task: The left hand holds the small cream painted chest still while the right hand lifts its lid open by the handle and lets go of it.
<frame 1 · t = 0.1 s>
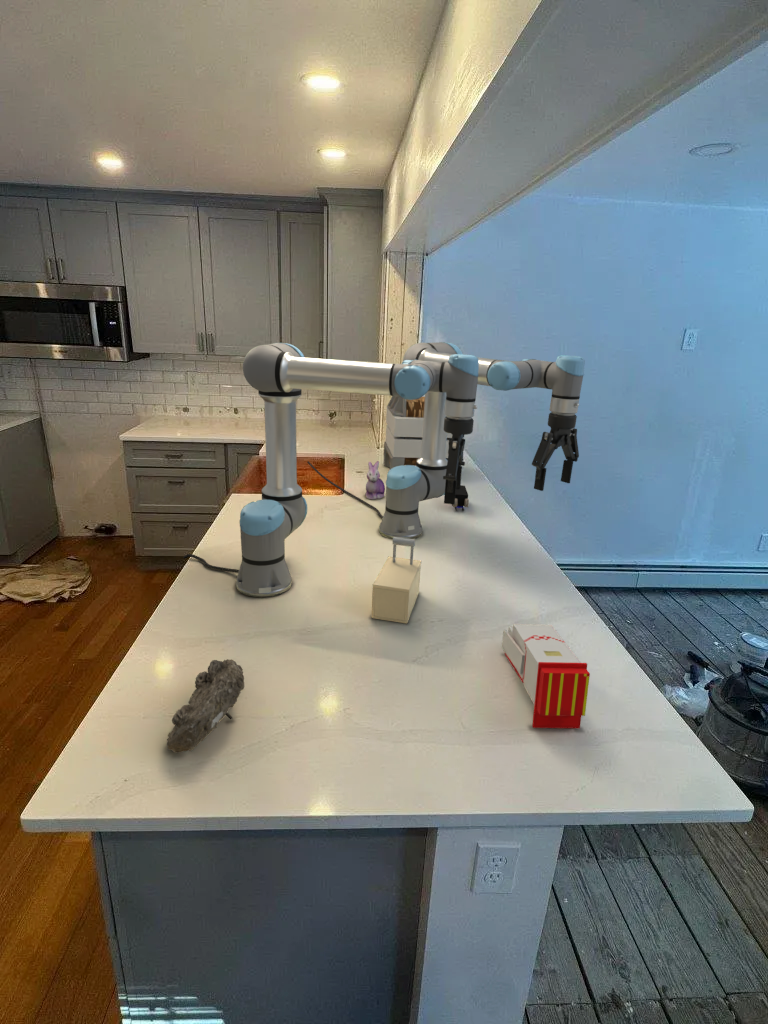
left hand: (452, 495, 153), 28 cm above the counter, tool pointing down, fingers open, 13 cm apart
right hand: (552, 485, 166), 28 cm above the counter, tool pointing down, fingers open, 13 cm apart
toy: (535, 684, 122), on the counter
chest: (396, 604, 152), on the counter
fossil: (212, 717, 108), on the counter
figurine character: (458, 507, 230), on the counter
lid: (398, 560, 148), point 13 cm above the counter, hinge at 0.0°
figurine: (374, 496, 238), on the counter
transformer: (419, 473, 275), on the counter
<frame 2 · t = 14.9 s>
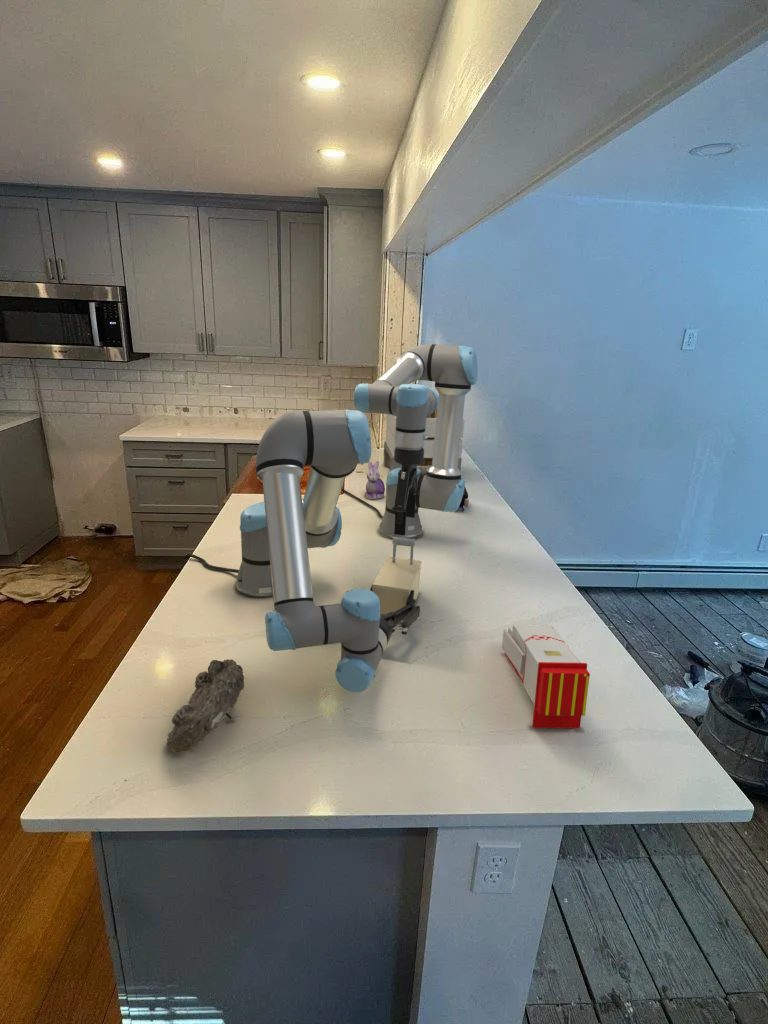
left hand: (392, 592, 145), 7 cm above the counter, tool horizontal, fingers closed on chest, 9 cm apart
right hand: (404, 525, 151), 21 cm above the counter, tool pointing down, fingers open, 13 cm apart
chest: (396, 604, 152), on the counter, touching left hand
everything else where it was.
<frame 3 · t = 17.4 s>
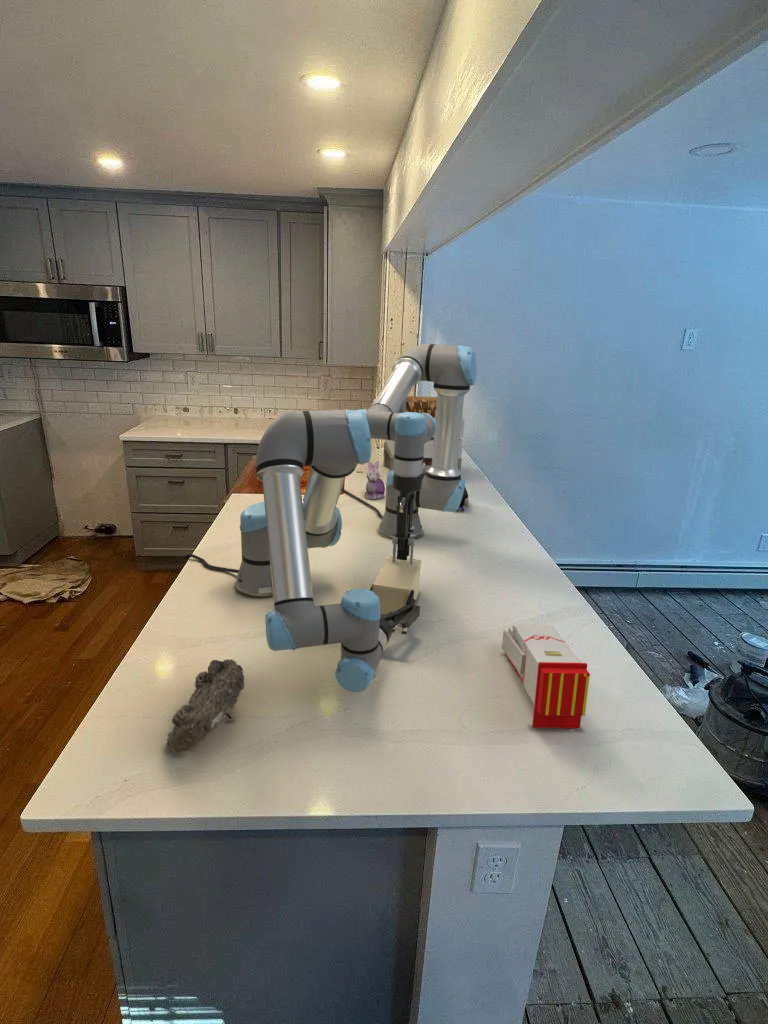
left hand: (392, 592, 145), 7 cm above the counter, tool horizontal, fingers closed on chest, 9 cm apart
right hand: (402, 557, 154), 11 cm above the counter, tool pointing down, fingers closed on lid, 2 cm apart
chest: (396, 604, 152), on the counter, touching left hand
lid: (398, 560, 148), point 13 cm above the counter, hinge at 0.7°, touching right hand
everything else where it was.
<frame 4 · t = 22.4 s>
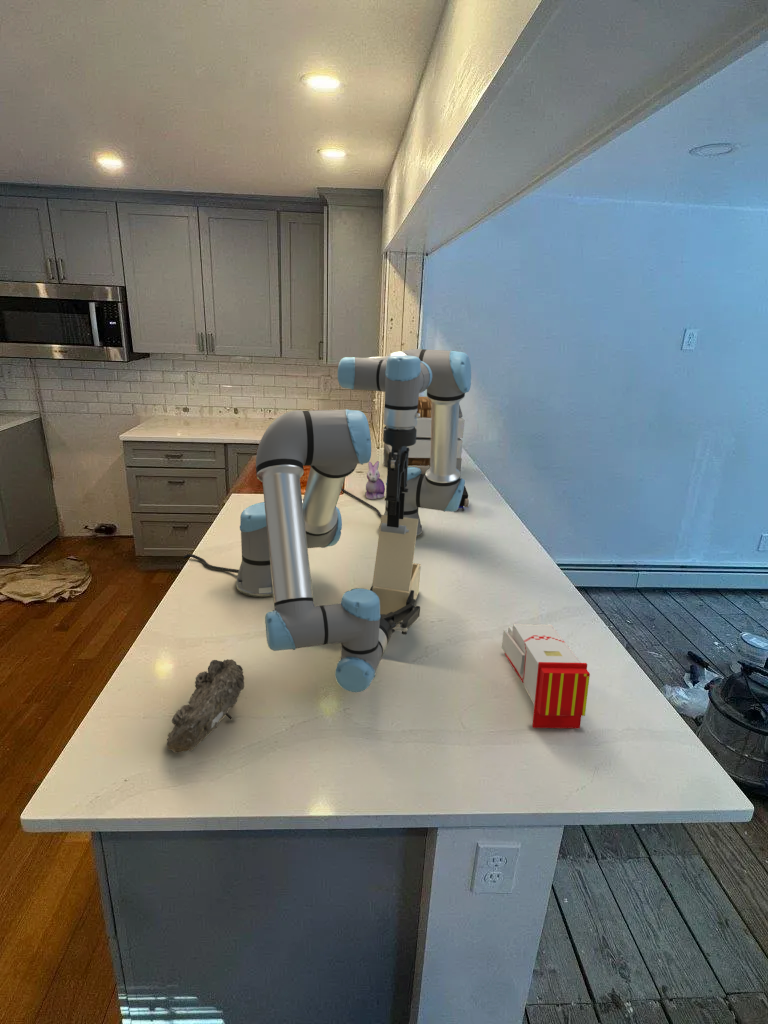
left hand: (392, 592, 145), 7 cm above the counter, tool horizontal, fingers closed on chest, 9 cm apart
right hand: (395, 522, 136), 27 cm above the counter, tool pointing down, fingers open, 5 cm apart
chest: (396, 604, 152), on the counter, touching left hand
lid: (392, 552, 138), point 19 cm above the counter, hinge at 66.4°
everything else where it was.
when the left hand's fingers open (7 cm above the counter, at t = 25.1 s): chest stays where it is, on the counter.
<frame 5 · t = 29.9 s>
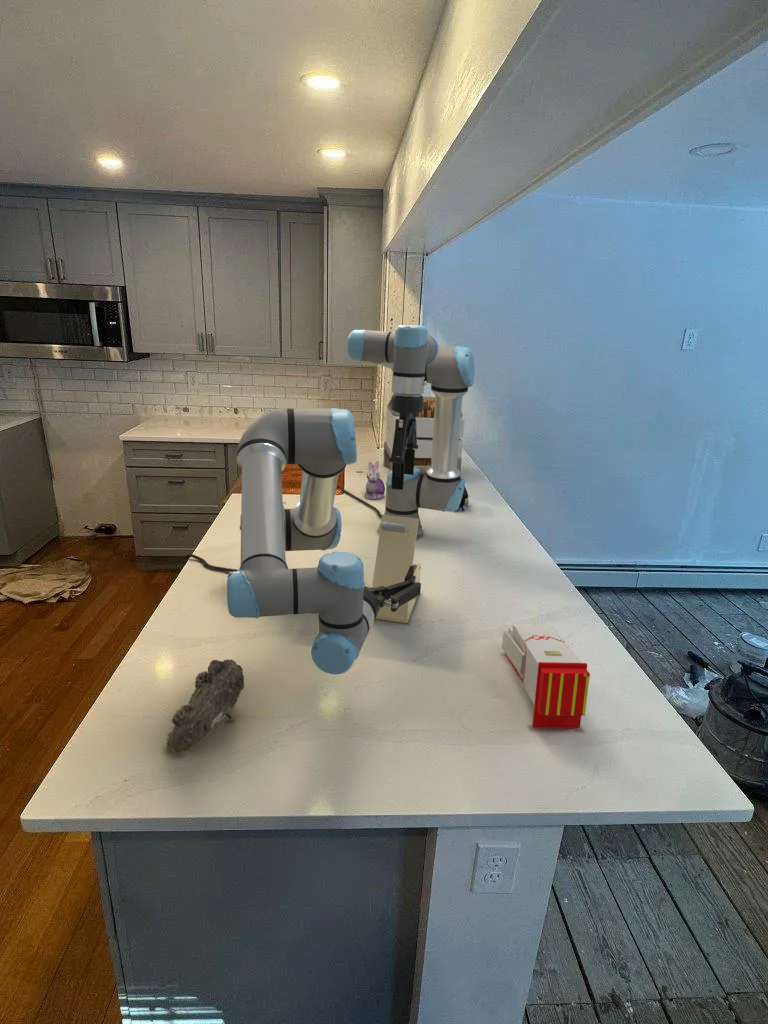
left hand: (381, 567, 126), 20 cm above the counter, tool horizontal, fingers open, 13 cm apart
right hand: (402, 481, 140), 35 cm above the counter, tool pointing down, fingers open, 13 cm apart
chest: (396, 604, 152), on the counter
lid: (393, 551, 138), point 19 cm above the counter, hinge at 65.1°
everything else where it was.
at the end: lid at +65° (first picture: +0°); the left hand is holding nothing; the right hand is holding nothing; chest tilted 0°; chest never tilted more than 1° during the clip; chest moved 0.1 cm from its start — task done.
